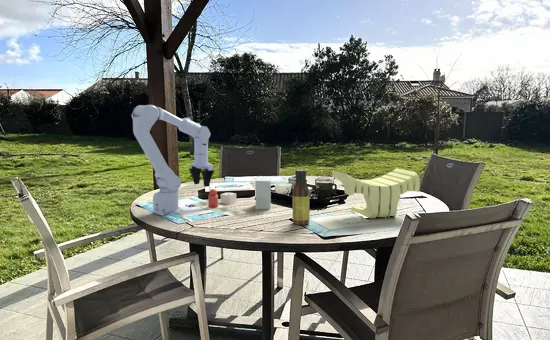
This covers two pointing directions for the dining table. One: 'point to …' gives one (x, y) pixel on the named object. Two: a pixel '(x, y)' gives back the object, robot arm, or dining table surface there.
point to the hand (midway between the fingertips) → (201, 185)
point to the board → (220, 209)
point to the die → (228, 198)
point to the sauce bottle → (301, 199)
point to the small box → (263, 193)
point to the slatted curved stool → (380, 191)
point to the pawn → (213, 199)
